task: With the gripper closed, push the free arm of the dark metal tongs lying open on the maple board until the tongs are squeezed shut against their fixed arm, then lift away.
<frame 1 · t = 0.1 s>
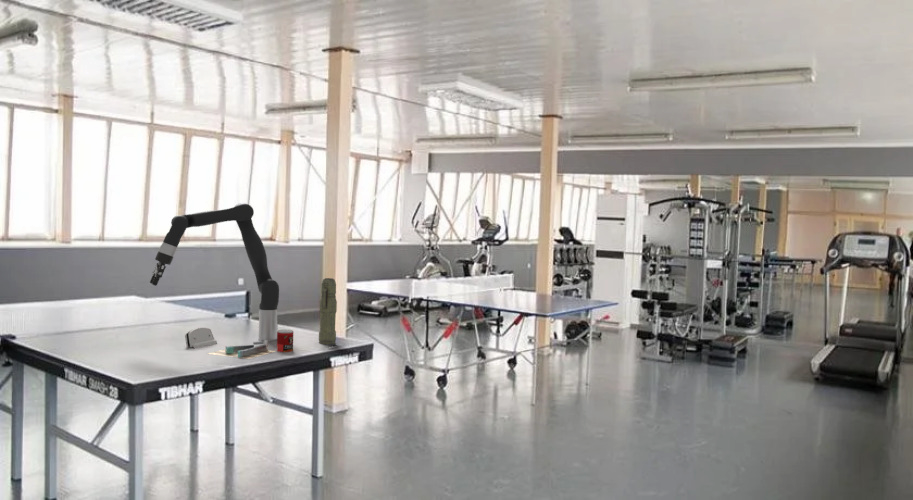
hand: (152, 284, 333), 31 cm above the table, tool tilted 20°, fingers open, 8 cm apart
tong arm: (245, 347, 325), point 4 cm above the table, hinge at 38.0°
green moai statue: (327, 345, 359), on the table
tongs fixed: (265, 350, 331), resting on board
canned food: (284, 353, 334), on the table
board: (242, 355, 325), on the table
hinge: (200, 346, 346), on the table
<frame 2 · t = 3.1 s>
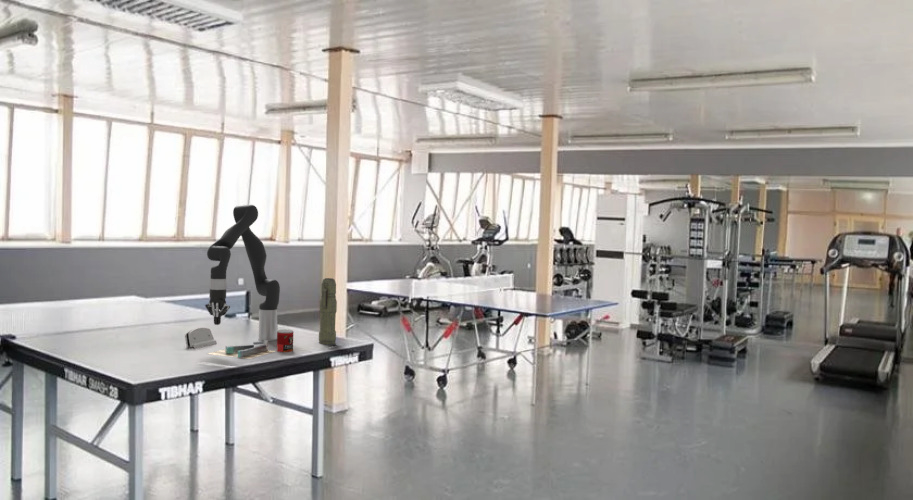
hand: (217, 324, 324), 14 cm above the table, tool pointing down, fingers closed
nothing on the table moved.
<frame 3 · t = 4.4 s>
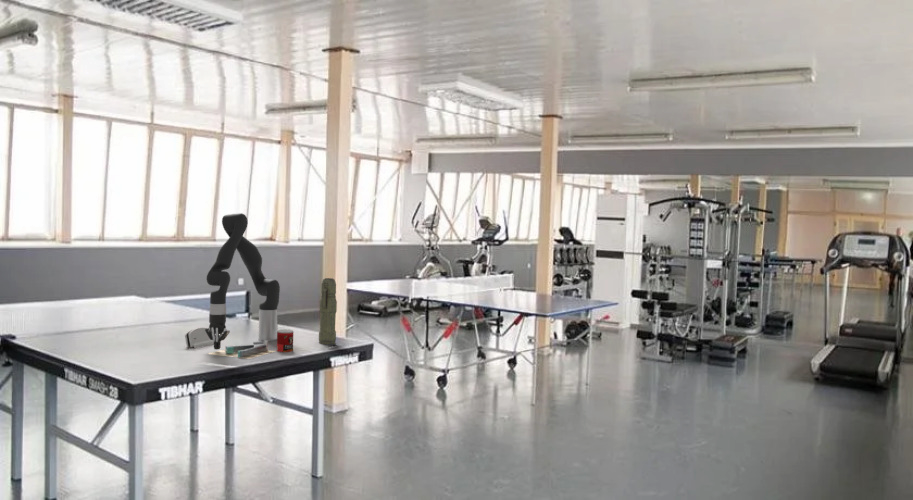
hand: (216, 349, 324), 3 cm above the table, tool pointing down, fingers closed
nothing on the table moved.
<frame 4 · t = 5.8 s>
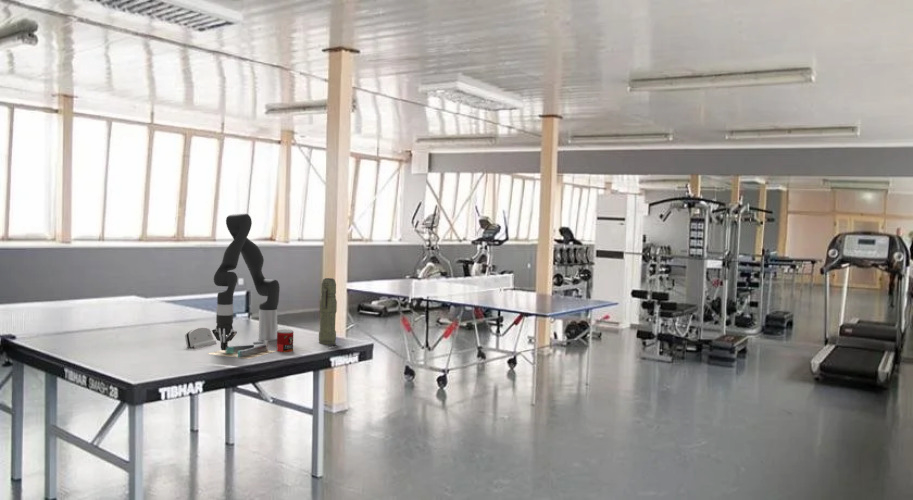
hand: (223, 350, 323), 3 cm above the table, tool pointing down, fingers closed
tong arm: (245, 347, 325), point 4 cm above the table, hinge at 37.9°, touching gripper
everything else where it was.
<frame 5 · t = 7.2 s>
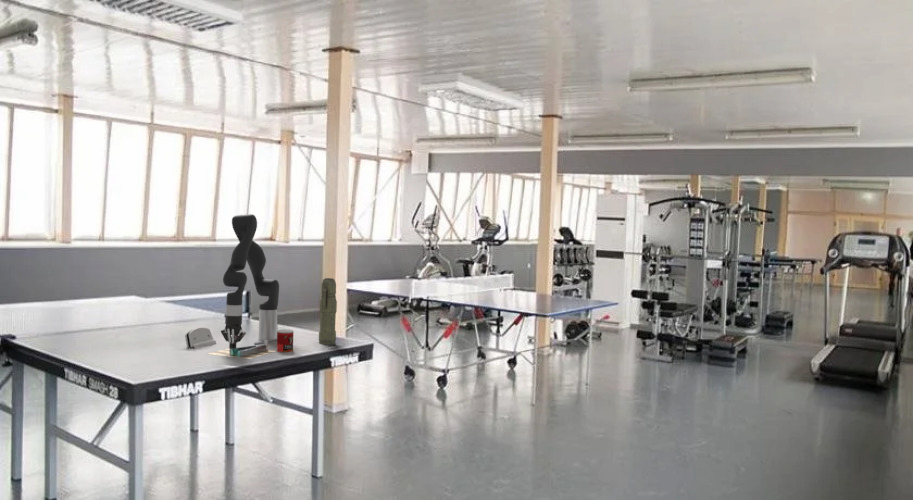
hand: (232, 350, 321), 3 cm above the table, tool pointing down, fingers closed
tong arm: (247, 348, 323), point 4 cm above the table, hinge at 22.2°, touching gripper
everything else where it was.
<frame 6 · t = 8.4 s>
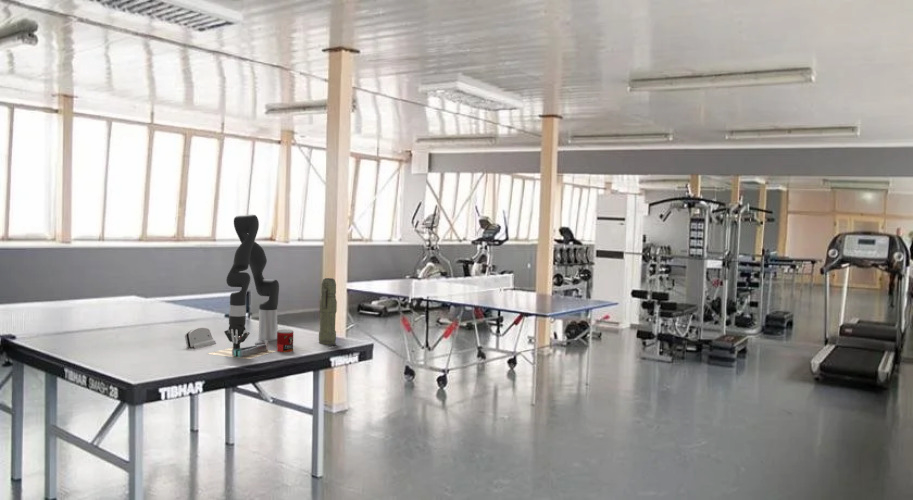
hand: (236, 351, 320), 3 cm above the table, tool pointing down, fingers closed
tong arm: (249, 348, 322), point 4 cm above the table, hinge at 15.5°, touching gripper
everything else where it was.
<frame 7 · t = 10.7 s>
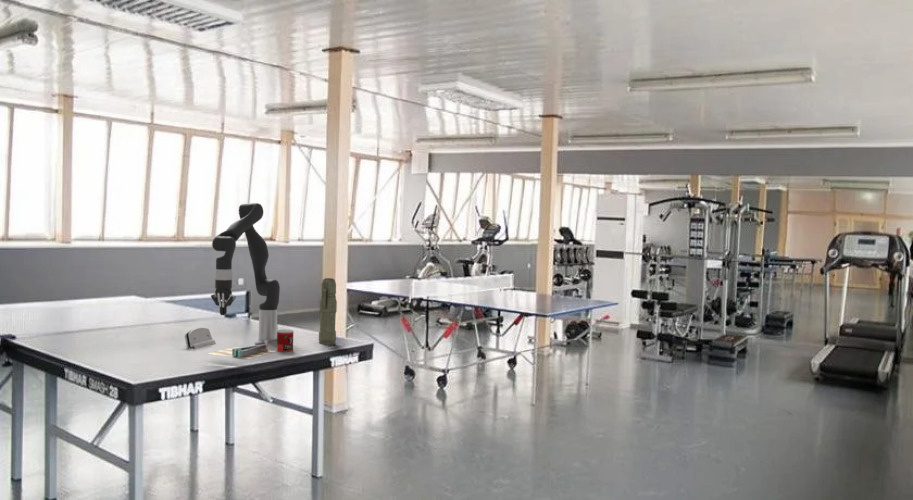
hand: (223, 314, 323), 19 cm above the table, tool pointing down, fingers closed
tong arm: (249, 348, 322), point 4 cm above the table, hinge at 15.1°
everything else where it was.
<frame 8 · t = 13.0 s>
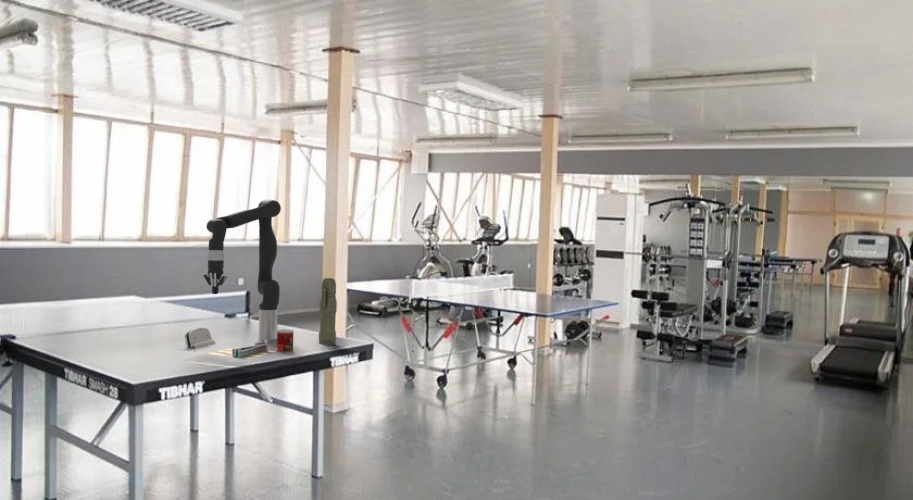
hand: (215, 293, 340), 27 cm above the table, tool pointing down, fingers closed
nothing on the table moved.
at the end: tong arm at +15° (first picture: +38°) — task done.
